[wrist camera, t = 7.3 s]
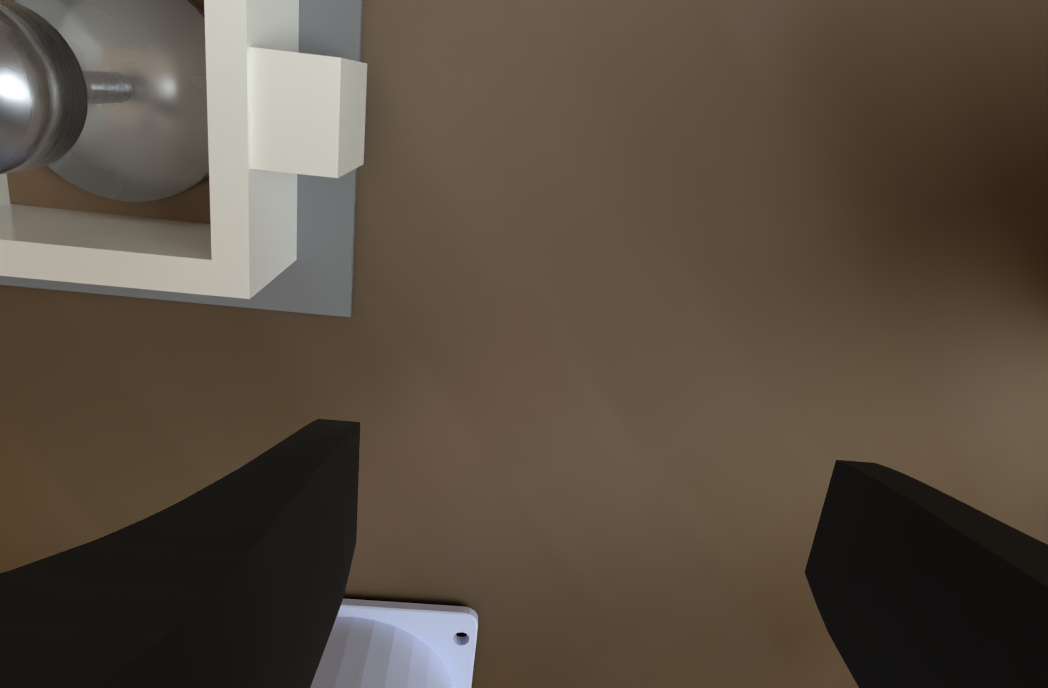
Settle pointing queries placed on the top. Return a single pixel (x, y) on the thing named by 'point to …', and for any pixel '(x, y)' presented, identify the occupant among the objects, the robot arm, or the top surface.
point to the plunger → (105, 94)
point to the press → (225, 180)
